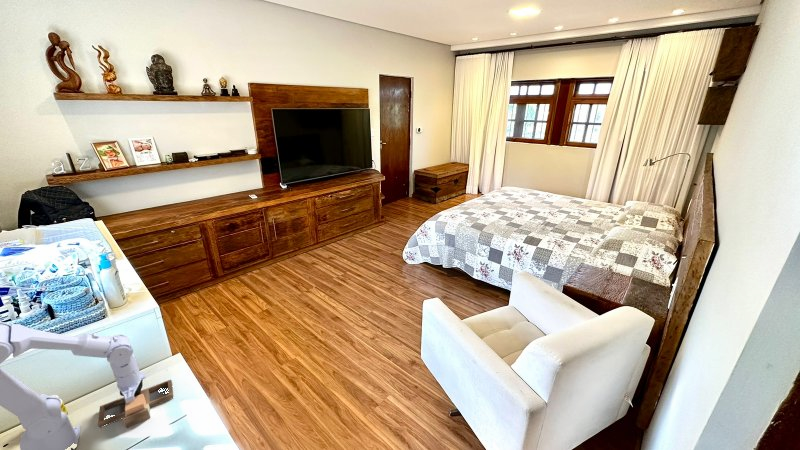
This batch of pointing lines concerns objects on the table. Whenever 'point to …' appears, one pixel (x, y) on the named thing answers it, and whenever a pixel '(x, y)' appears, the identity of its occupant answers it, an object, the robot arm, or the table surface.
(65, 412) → the supplement bottle
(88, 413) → the table surface
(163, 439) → the table surface
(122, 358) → the robot arm
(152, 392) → the board
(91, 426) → the table surface
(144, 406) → the block
